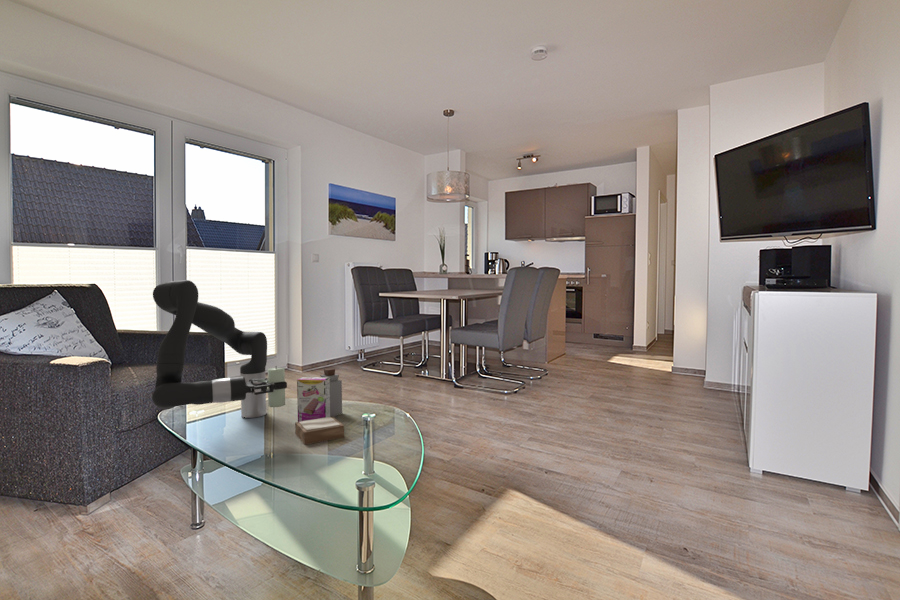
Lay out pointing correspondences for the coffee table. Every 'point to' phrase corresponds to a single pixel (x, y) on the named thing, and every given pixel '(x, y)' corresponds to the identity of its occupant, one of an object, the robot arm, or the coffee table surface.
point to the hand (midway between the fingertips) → (284, 383)
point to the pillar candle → (278, 395)
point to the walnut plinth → (319, 430)
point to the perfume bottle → (334, 391)
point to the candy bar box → (313, 398)
